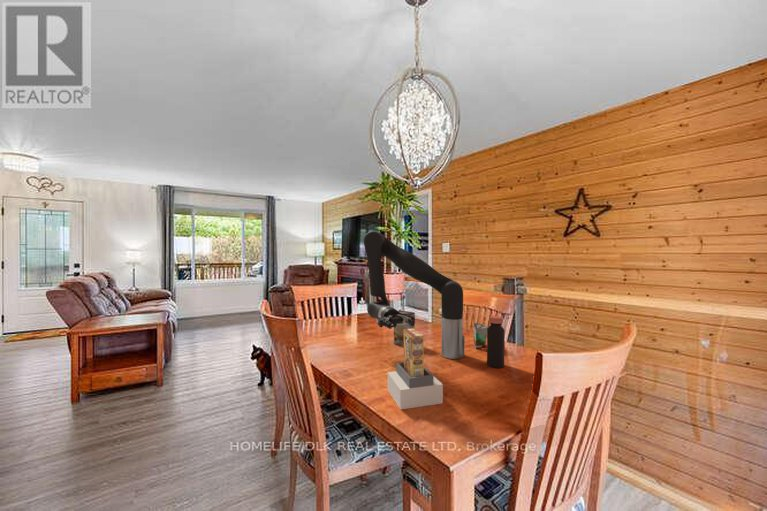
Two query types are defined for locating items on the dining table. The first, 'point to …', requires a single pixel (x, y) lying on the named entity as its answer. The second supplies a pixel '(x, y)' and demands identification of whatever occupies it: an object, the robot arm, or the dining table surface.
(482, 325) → the food container
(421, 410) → the dining table surface
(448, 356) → the robot arm
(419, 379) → the stand
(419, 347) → the candy box
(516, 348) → the dining table surface
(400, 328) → the coffee box
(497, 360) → the bottle
